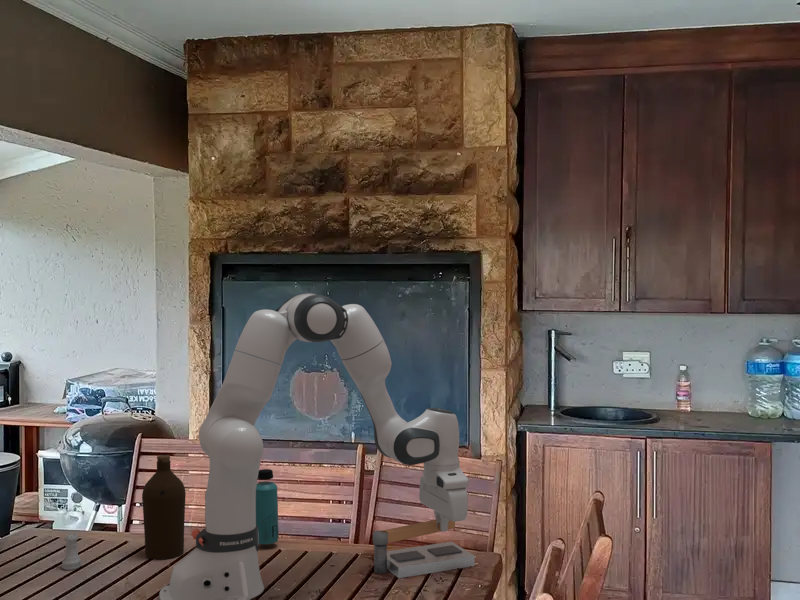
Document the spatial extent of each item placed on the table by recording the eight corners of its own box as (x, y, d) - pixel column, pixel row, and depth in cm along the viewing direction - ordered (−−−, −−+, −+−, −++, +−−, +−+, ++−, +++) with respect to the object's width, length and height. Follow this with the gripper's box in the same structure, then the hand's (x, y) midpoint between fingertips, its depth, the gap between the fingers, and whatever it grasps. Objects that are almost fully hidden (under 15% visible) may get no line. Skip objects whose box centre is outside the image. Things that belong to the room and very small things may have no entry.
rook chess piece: (57, 568, 198) (57, 535, 198) (72, 563, 202) (72, 530, 202) (70, 571, 196) (70, 538, 196) (85, 566, 200) (85, 533, 200)
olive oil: (193, 554, 208) (192, 455, 208) (154, 563, 201) (153, 462, 201) (173, 544, 216) (172, 449, 216) (135, 553, 209) (134, 455, 208)
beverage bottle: (273, 551, 210) (273, 473, 210) (249, 549, 211) (248, 472, 211) (282, 543, 216) (281, 467, 216) (258, 541, 218) (258, 466, 217)
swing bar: (378, 546, 192) (378, 535, 192) (369, 542, 195) (369, 532, 195) (456, 528, 205) (456, 519, 205) (447, 525, 208) (447, 516, 208)
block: (384, 580, 188) (384, 552, 188) (365, 564, 199) (365, 537, 199) (474, 565, 198) (474, 539, 198) (451, 551, 209) (451, 525, 209)
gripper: (412, 466, 210) (413, 520, 210) (448, 484, 191) (448, 543, 191) (435, 464, 212) (435, 517, 212) (472, 481, 193) (472, 540, 193)
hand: (442, 530), depth 201 cm, fingers closed
